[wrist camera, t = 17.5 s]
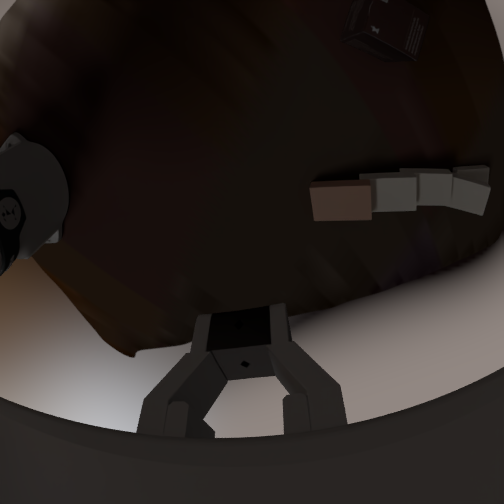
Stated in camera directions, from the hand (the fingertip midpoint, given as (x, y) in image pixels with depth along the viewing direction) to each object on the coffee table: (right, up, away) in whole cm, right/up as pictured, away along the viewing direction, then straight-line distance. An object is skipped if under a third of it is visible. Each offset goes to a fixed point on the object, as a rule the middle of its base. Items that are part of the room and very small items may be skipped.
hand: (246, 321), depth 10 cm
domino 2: (+13, +10, +23) cm, 28 cm away
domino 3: (+19, +11, +22) cm, 31 cm away
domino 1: (+7, +8, +24) cm, 26 cm away
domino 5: (+26, +11, +21) cm, 36 cm away
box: (+13, +27, +12) cm, 32 cm away
